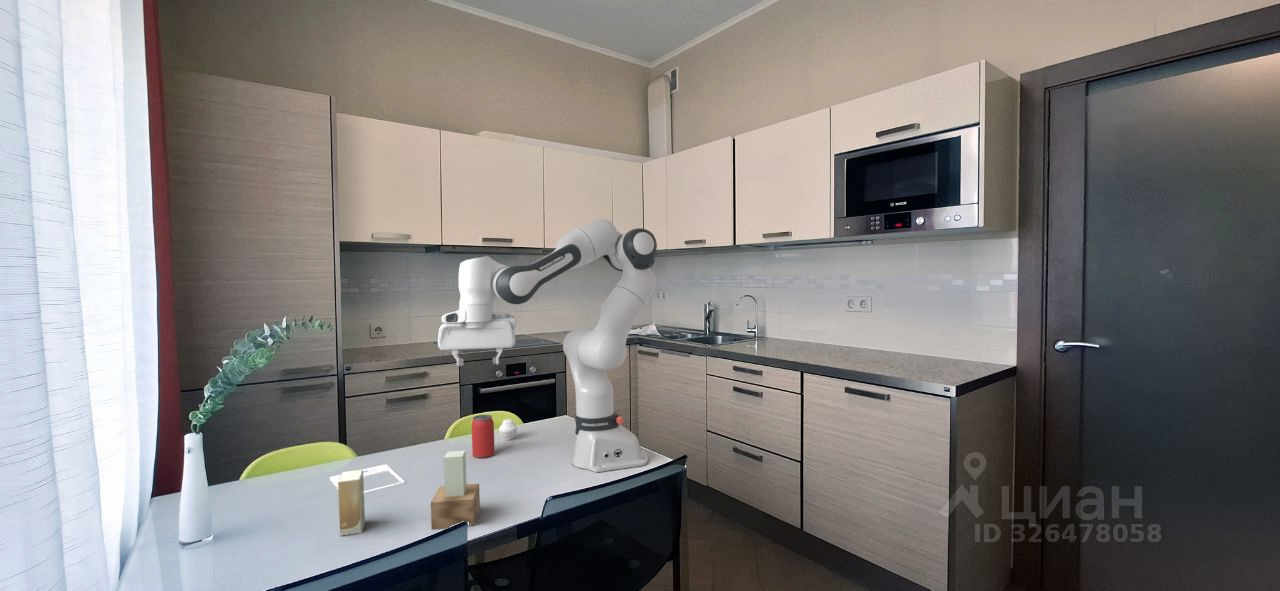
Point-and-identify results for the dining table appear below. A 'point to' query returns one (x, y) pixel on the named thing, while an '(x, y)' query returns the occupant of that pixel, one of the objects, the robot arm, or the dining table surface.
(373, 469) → the photo frame
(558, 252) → the robot arm
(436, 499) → the walnut block
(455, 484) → the sage pillar
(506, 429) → the muffin
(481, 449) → the beer can
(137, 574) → the dining table surface
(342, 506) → the skincare box
